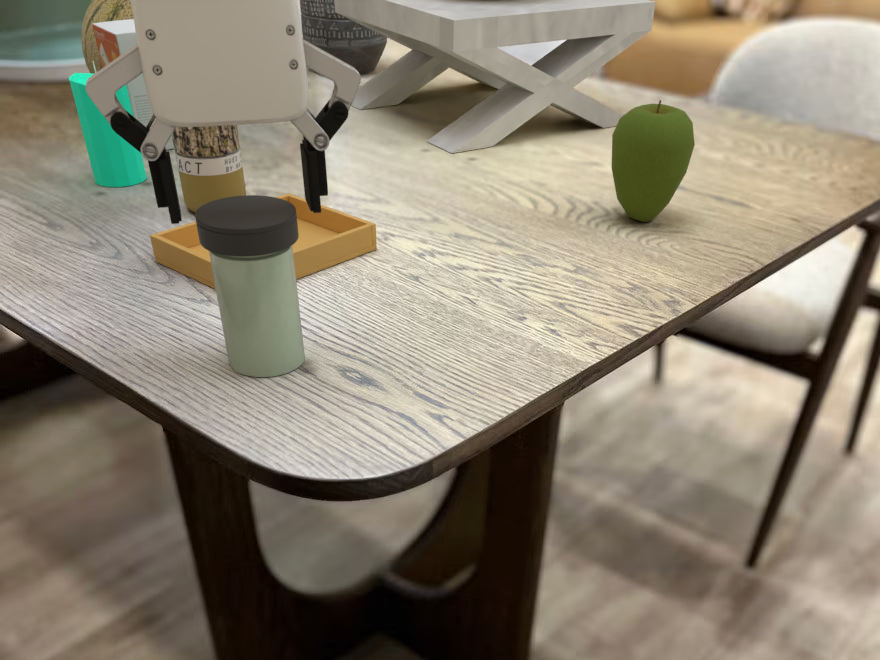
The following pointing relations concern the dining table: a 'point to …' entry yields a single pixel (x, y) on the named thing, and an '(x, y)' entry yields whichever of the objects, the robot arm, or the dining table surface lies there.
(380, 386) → the dining table surface
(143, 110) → the small box
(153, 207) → the dining table surface
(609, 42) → the x-leg display riser
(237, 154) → the paper tube
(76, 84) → the candle
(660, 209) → the apple
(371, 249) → the tray
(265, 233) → the lid
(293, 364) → the jar
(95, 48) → the cantaloupe
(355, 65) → the planter
